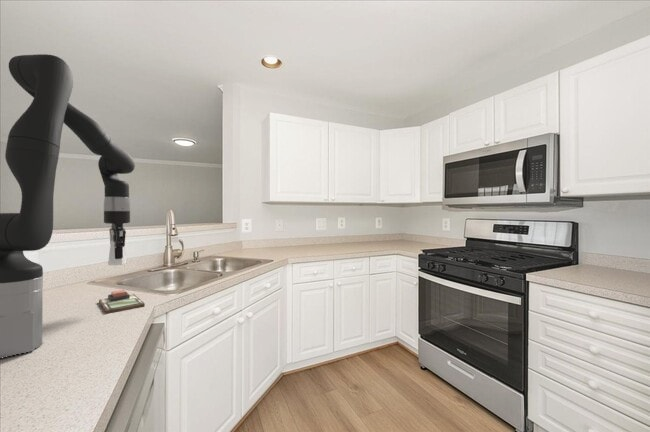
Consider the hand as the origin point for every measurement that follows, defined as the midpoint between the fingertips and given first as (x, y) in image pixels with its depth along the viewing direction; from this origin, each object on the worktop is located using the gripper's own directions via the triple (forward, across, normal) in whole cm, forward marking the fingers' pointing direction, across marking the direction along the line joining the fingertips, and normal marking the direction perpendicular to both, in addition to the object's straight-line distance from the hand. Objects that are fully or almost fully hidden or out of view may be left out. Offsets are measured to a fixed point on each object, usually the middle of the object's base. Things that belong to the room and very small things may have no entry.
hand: (117, 257), depth 99 cm
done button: (+16, +8, -2) cm, 18 cm away
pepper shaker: (+3, 0, 0) cm, 3 cm away
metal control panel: (+18, +3, -2) cm, 18 cm away
